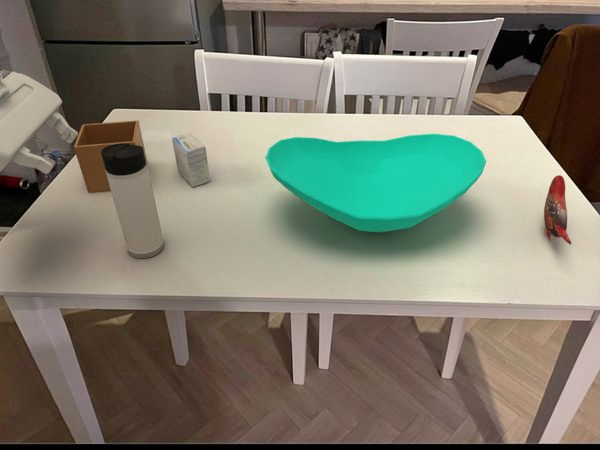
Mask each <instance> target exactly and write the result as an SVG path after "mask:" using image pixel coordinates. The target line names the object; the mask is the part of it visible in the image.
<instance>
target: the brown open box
mask: <svg viewBox="0 0 600 450" xmlns="http://www.w3.org/2000/svg"><path fill="white" fill-rule="evenodd" d="M119 143H129V145H137V146H138V145H139V146H141V147H143V150H144V154H145V159H146V162H147V166H148V165H149V162H148V157H147V153H146V148H145V144H144V143H145V142H144V139H143V134H142V129H141V124H140V121H139V120H138V119H137V120H125V121H123V120H122V121H112V122H111V121H110V122H97V123H86V124H85V123H84V124H82V125H81V127H80V130H79V132H78V135H77V137H76V139H75V143H74V145H73V150H74V152H75V156H76V159H77V162H78V165H79V168H80V172H81V174H82V178H83V181H84V184H85V188H86V190H87V193H88V194H90V192H92V193H100V192H101V193H102V192H111V189H110V185H109V182H108V178H107V175H106V171H105V165H104V163H103V159H102V155H101V150H102V149H103V148H105V147H107V146H109V145H113V144H119ZM148 167H149V166H148Z"/></svg>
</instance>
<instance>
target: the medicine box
mask: <svg viewBox="0 0 600 450" xmlns="http://www.w3.org/2000/svg"><path fill="white" fill-rule="evenodd" d="M171 140H172V146H173V152H174V156H175V163H176V168H177V173H179V174H180V175H181V176H182V178H184V180H185V181H186V182H187V183H188V184H189V185H190V186H191V187H192V188H194V187H197V186H202V185H203V184H207V183H210V182H211V175H210V167H209V161H208V153H207V148H206V145H204V144H203V143H202V142H201V141H200V140H199V139H198V138H197V137H195V135H194V134H192V133H191V132H188V133H183V134H180V135H176V136H174V137H173V136H172V138H171Z"/></svg>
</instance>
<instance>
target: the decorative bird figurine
mask: <svg viewBox="0 0 600 450" xmlns="http://www.w3.org/2000/svg"><path fill="white" fill-rule="evenodd" d="M547 191H548V192H547V195H546V198H545V202H544V208H543V209H544V210H543V220H544V221H543V222H544V232H545V234H546V236H547V239H548V241H549V242H550V241H551V236H553V237H555V238H562V239H563V240H564V241H565V242H566V243H567V244H568V245H572V241H571V238H570V237H569V235H568V232H567V229H568V210H567V202H566V181H565V178H564V176H563V175H560V174H558V175H556V176H554V177H553V179H552V181H551V183H550V185H549V187H548V190H547Z"/></svg>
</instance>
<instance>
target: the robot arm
mask: <svg viewBox="0 0 600 450" xmlns="http://www.w3.org/2000/svg"><path fill="white" fill-rule="evenodd" d="M62 104H63V100H62V99H61V97H60V95H58V93H56V92H54V91H53V90H51V89H50V88H48V87H47V86H45V85H44V84H43V83H40V82H39V81H37V80H35V79H33V78H31V76H28V75H26V74H23V73H20V72H16V71H11V70H6V69H1V70H0V172H2V171H3V170H4V169H5V167H7V166H8V165H9V163H10V162H11V161H12V162H13V163H16V164H17V165H19V166H23V167H28V168H32V169H36V170H38V171H40V172H41V173H42V174H45V175H48V174H49V173H50V172H51V171H52V170H53V169H54V167H55V166H56V164H57V162H56V161H55V160H54V159H52V158H51V157H49V156H47V154H45V155H44V156H40V155H37V154H34V153H31V149H29V148H27V146H26V145H27V144H28V143H29V142H30V141H31V140H32V138H34V136H35V135H37V133H38V132H39V131H40V130H41V129H42V128H43V127H44V126H45V125H47V126H48V127H49V128H54V129H55V130H56V131H57V132H58V133H59V134H60V137H59V138H60V139H62V141H65V142H66V143H67V144H72V143H73V142H74V141H75V140H76V139H77V137H78V135H79V132H78V131H77V130H76V129H74V128H72V127H71V126H70V125H69V124H68V122H67V121H66V119H65V118H64V116H63V115H62V114H60V113H59V112H58V110H59V108H60V107H61V105H62Z"/></svg>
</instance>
